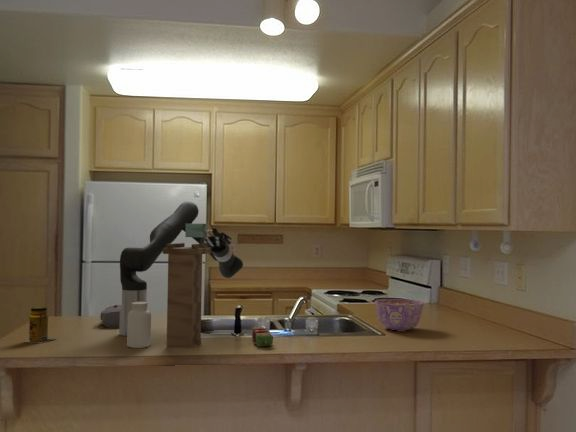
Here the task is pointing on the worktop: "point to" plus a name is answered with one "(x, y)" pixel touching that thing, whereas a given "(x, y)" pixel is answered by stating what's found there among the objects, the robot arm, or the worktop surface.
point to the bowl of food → (399, 313)
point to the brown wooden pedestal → (184, 294)
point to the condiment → (38, 325)
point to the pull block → (197, 230)
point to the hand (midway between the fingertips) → (209, 229)
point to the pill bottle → (139, 326)
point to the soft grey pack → (111, 316)
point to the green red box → (262, 337)
